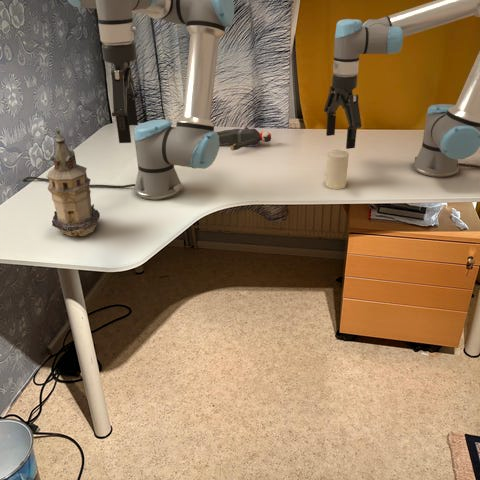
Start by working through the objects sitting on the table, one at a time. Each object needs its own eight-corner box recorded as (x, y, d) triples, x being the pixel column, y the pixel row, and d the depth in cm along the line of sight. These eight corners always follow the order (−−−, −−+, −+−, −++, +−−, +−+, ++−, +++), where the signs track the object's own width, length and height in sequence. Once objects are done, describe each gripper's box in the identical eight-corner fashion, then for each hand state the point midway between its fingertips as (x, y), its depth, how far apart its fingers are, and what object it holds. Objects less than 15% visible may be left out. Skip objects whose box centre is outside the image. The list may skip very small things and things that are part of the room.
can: (348, 183, 182) (351, 151, 176) (341, 190, 177) (344, 158, 171) (329, 179, 185) (332, 148, 179) (322, 186, 180) (324, 155, 174)
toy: (206, 120, 229) (275, 120, 223) (207, 134, 232) (276, 134, 226) (189, 139, 207) (265, 140, 201) (190, 155, 210) (266, 156, 204)
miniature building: (80, 214, 164) (63, 117, 149) (111, 225, 157) (96, 125, 142) (44, 231, 154) (22, 130, 140) (75, 244, 147) (55, 139, 133)
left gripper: (127, 52, 111) (138, 150, 121) (140, 33, 132) (149, 118, 143) (91, 53, 110) (105, 151, 121) (110, 34, 132) (120, 118, 143)
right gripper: (315, 67, 172) (312, 131, 183) (354, 84, 152) (348, 155, 162) (336, 65, 174) (332, 128, 185) (377, 82, 154) (370, 152, 164)
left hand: (129, 133), depth 132 cm, fingers open, 13 cm apart
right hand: (340, 141), depth 174 cm, fingers open, 13 cm apart
